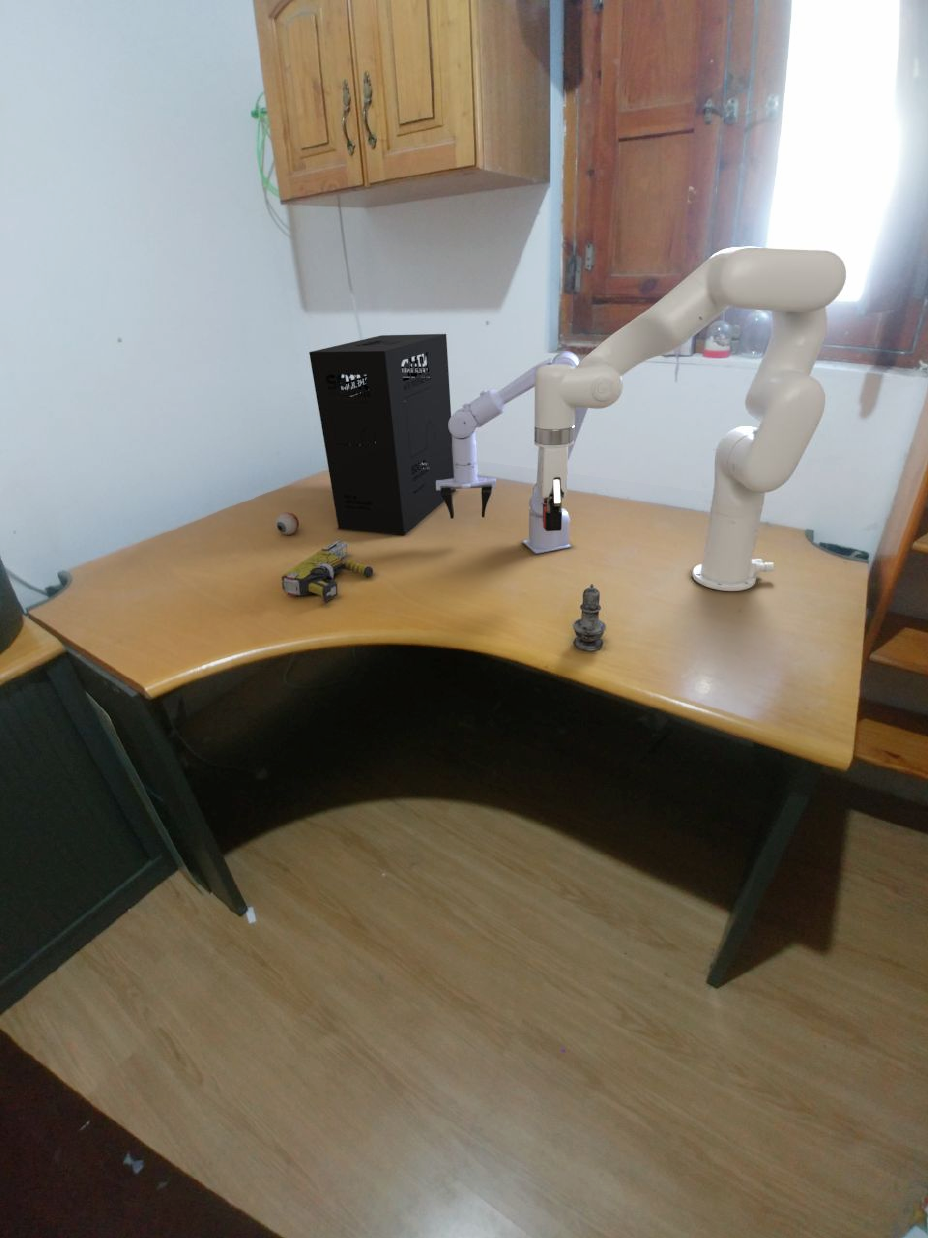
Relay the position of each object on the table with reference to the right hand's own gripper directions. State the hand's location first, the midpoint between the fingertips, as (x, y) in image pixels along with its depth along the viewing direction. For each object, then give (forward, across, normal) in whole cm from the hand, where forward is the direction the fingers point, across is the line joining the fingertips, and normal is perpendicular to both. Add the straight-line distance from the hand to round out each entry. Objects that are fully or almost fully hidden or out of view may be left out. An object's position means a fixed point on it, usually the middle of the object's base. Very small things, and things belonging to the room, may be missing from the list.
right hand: (551, 525), depth 123 cm
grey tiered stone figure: (+14, +23, +4) cm, 27 cm away
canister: (0, 0, 0) cm, 0 cm away
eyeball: (+14, -38, -66) cm, 78 cm away
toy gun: (+14, -9, -48) cm, 51 cm away
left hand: (+7, -26, -17) cm, 32 cm away
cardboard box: (+14, -55, -37) cm, 68 cm away
